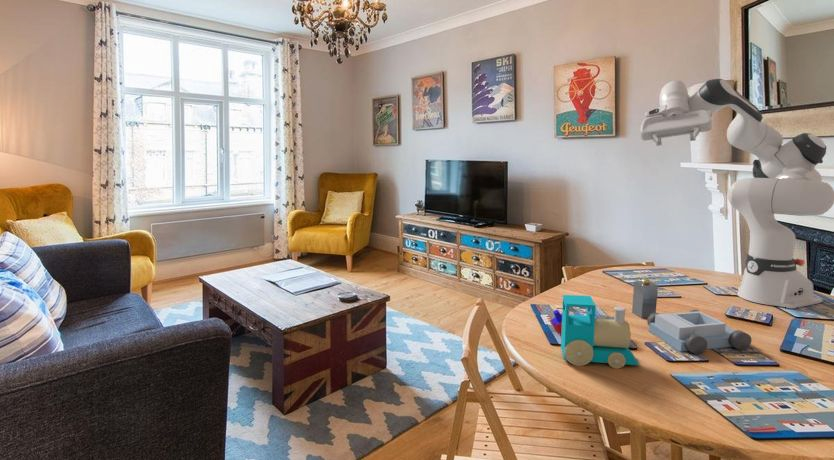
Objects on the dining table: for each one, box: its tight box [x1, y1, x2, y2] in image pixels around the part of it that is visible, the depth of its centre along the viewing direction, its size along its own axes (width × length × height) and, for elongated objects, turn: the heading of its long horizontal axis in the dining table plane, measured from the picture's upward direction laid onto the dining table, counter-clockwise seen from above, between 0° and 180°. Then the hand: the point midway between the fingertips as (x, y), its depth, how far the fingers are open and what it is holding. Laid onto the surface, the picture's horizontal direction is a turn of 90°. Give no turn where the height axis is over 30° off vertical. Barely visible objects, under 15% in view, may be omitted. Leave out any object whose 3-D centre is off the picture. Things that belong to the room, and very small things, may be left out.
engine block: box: [631, 278, 659, 319], centre depth 129 cm, size 4×4×11 cm
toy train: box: [560, 294, 640, 369], centre depth 103 cm, size 8×17×15 cm, turn 78°
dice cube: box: [596, 314, 615, 320], centre depth 116 cm, size 5×5×5 cm
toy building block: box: [550, 309, 562, 335], centre depth 119 cm, size 4×4×8 cm
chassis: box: [646, 309, 752, 355], centre depth 113 cm, size 18×16×6 cm
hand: (675, 141), depth 139 cm, fingers open, 8 cm apart
